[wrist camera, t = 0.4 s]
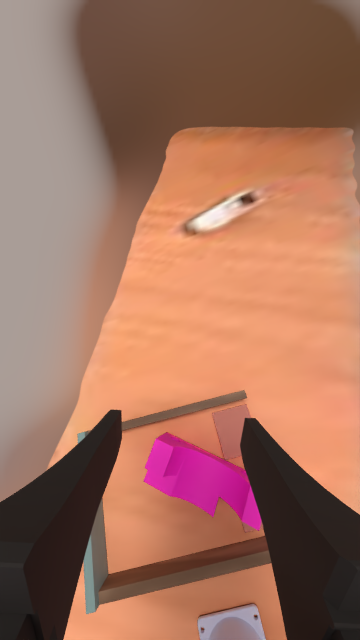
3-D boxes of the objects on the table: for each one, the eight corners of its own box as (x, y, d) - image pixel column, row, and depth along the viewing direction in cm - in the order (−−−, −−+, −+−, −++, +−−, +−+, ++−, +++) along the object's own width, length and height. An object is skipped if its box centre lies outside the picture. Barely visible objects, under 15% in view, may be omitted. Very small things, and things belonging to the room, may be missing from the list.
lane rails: (292, 541, 30) (300, 555, 27) (109, 586, 30) (99, 604, 27) (241, 391, 37) (244, 390, 34) (96, 429, 38) (87, 431, 35)
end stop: (109, 586, 30) (95, 611, 26) (101, 588, 30) (86, 614, 26) (96, 429, 38) (84, 431, 34) (90, 430, 38) (77, 433, 34)
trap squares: (285, 521, 30) (286, 522, 30) (244, 531, 31) (244, 532, 30) (246, 404, 36) (246, 404, 36) (212, 413, 37) (212, 413, 36)
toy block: (151, 472, 34) (136, 488, 28) (166, 432, 36) (155, 438, 29) (244, 522, 31) (253, 557, 24) (255, 475, 32) (267, 494, 25)
